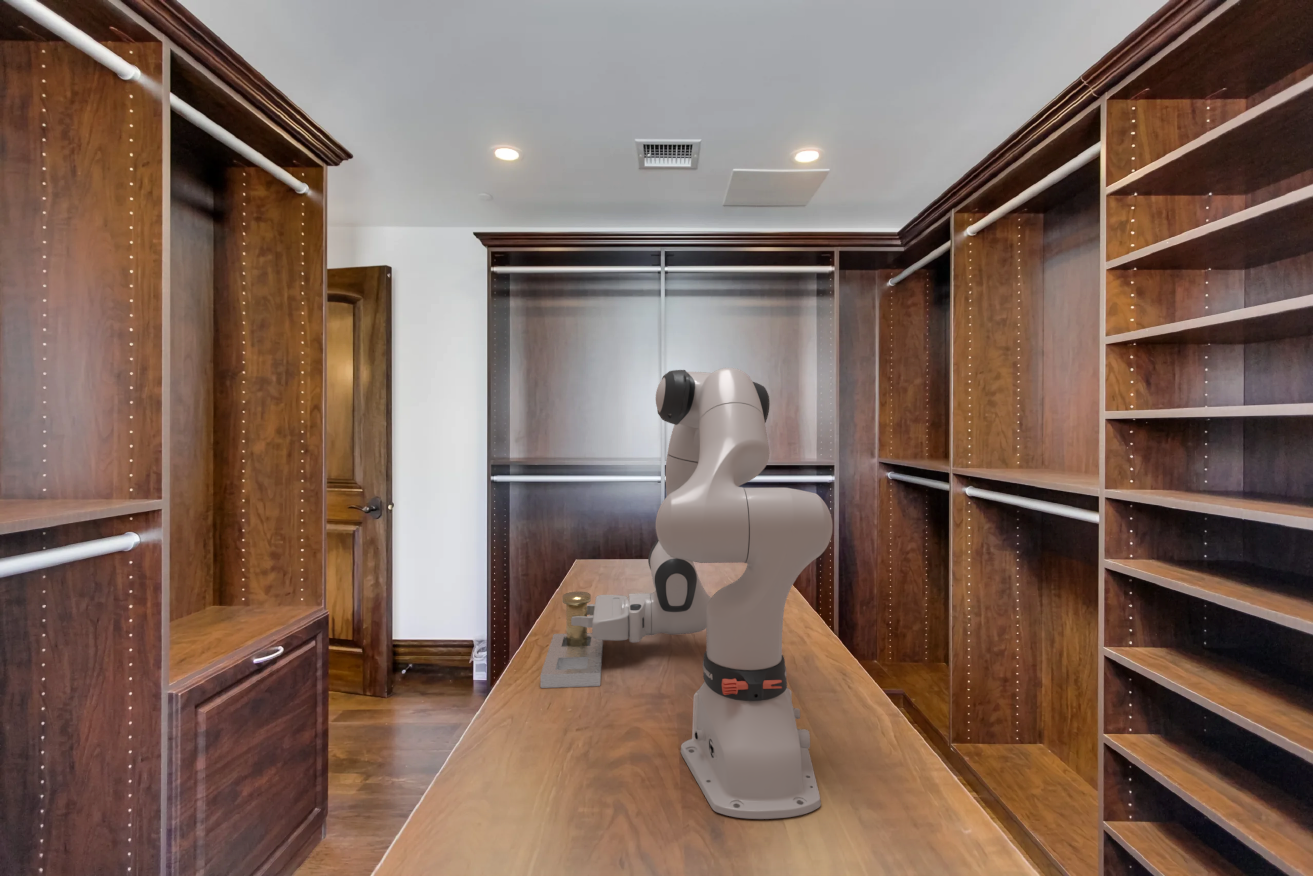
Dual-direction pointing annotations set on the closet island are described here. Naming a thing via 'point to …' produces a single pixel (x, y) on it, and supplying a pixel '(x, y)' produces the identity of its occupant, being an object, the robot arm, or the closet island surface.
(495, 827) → the closet island surface
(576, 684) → the plate
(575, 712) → the closet island surface
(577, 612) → the brass capped peg
